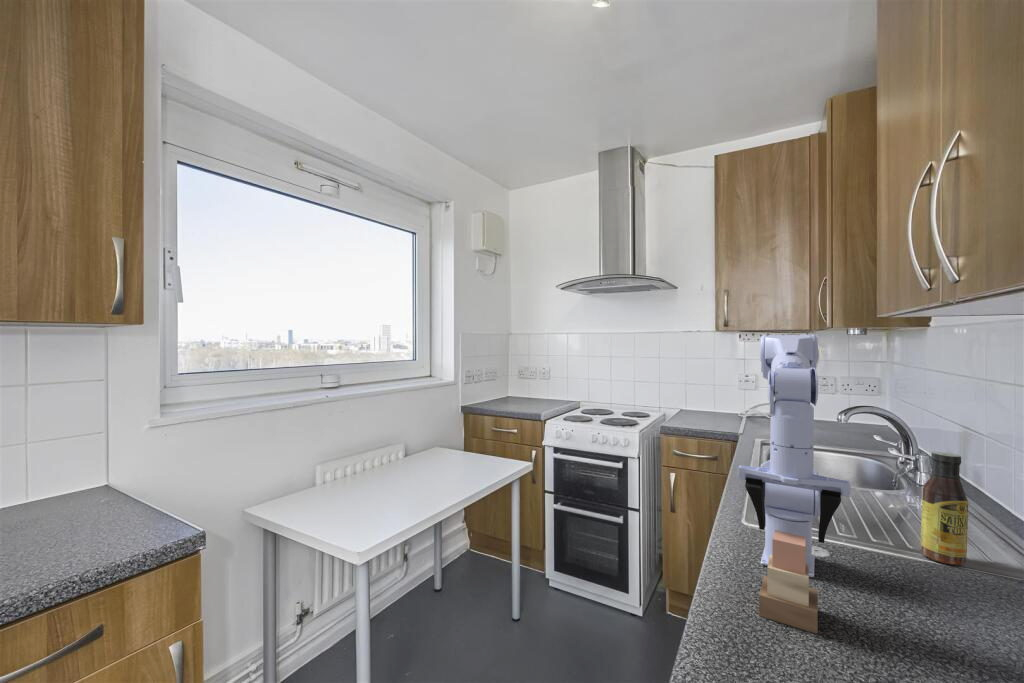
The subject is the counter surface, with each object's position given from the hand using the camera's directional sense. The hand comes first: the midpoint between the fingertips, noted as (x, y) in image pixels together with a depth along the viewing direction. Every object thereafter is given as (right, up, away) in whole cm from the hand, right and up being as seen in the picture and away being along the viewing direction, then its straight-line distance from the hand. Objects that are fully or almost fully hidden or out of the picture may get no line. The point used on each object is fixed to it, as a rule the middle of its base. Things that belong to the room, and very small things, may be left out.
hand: (790, 534), depth 68 cm
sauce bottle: (+38, -12, +15) cm, 43 cm away
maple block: (-2, -7, -3) cm, 8 cm away
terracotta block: (-2, -3, -3) cm, 5 cm away
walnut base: (-2, -10, -3) cm, 11 cm away
